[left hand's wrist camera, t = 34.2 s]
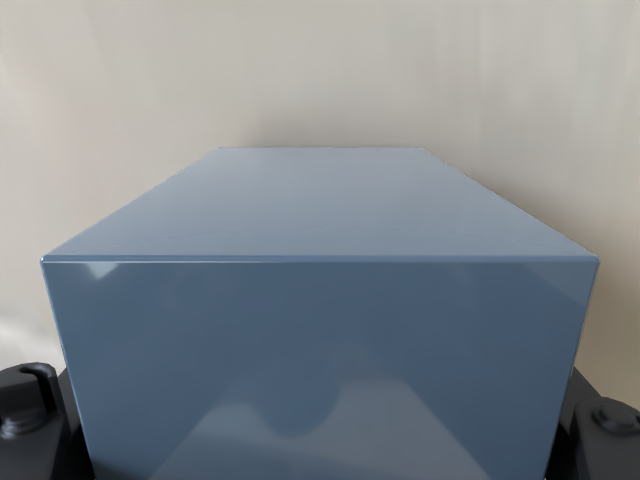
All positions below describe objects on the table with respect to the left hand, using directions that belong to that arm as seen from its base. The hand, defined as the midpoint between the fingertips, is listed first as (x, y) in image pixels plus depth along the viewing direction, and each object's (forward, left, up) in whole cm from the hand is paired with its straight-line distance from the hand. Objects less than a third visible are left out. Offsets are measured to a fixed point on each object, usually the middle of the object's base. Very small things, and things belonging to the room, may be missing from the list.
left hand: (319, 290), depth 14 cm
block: (0, 0, -3) cm, 3 cm away
